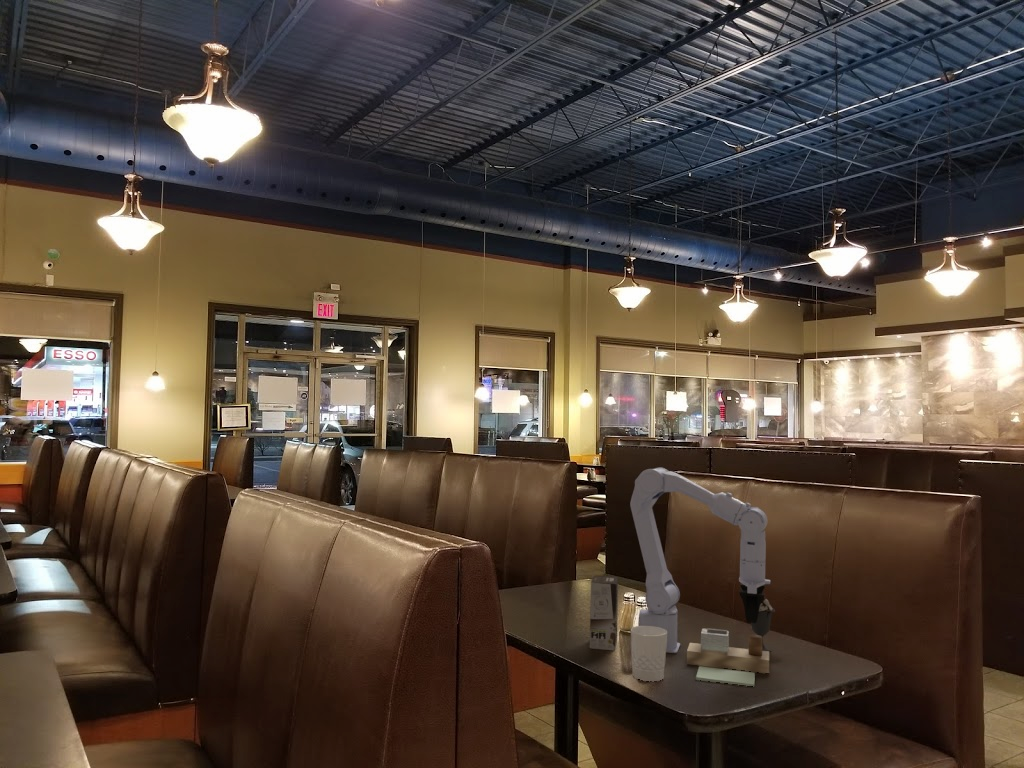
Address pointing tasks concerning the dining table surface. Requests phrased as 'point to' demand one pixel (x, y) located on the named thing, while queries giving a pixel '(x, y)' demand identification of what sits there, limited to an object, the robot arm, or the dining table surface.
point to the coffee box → (603, 613)
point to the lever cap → (715, 640)
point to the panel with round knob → (732, 657)
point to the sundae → (763, 620)
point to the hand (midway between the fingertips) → (751, 618)
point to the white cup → (648, 652)
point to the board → (725, 676)
